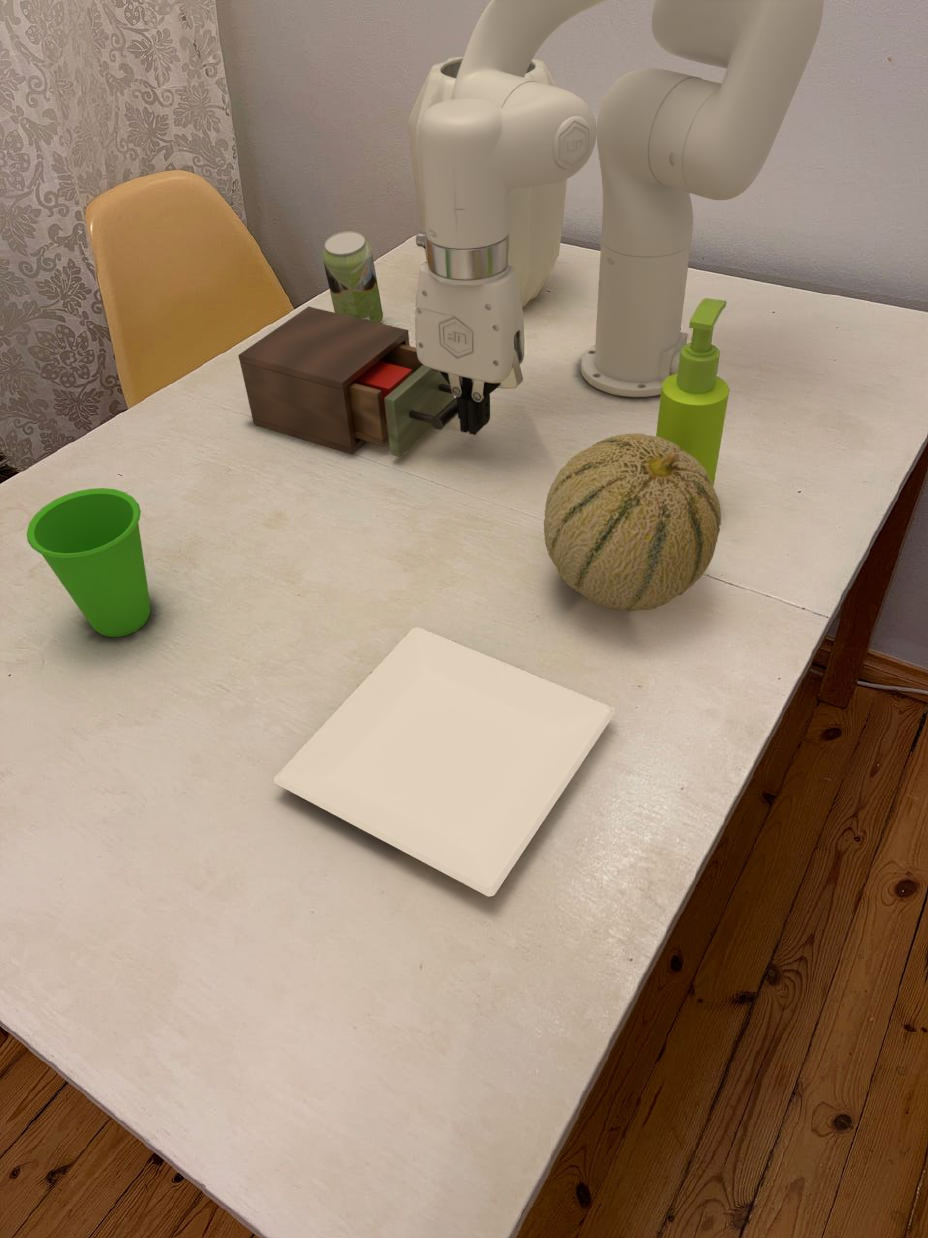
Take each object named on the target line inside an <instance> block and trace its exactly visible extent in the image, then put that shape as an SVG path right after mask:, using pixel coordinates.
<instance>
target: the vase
mask: <svg viewBox="0 0 928 1238" xmlns="http://www.w3.org/2000/svg"><path fill="white" fill-rule="evenodd" d="M463 57H464V55H463V56H453V57H449V58H448V59H447V60H446V61H443V62H439V63H435V64H433V65H432V66H431V68H430V69H429V71H428V73H427V76H426V79H425V80H424V82H423V85H422V87H421V89H420V90H419V93H418V95H417V97H416V101H415V103H414V105H413V107H412V109H411V112H410V114H409V117H408V118H407V122H408V136H409V146H410V147H409V148H410V156H411V164H412V165H411V166H412V171H413V179H414V180H413V181H414V188H415V194H416V201H417V202H416V203H417V209H418V216H419V223H420V229H421V232H426V226H425V212H424V198H423V183H422V168H421V153H420V138H419V127H420V121H421V117H422V115H423V114H424V112H425V111H426V110H427V109H428V108H429V107H431V106H432V105H435V104H437V103H440V102H443V101H447V100H451V96H452V92H453V88H454V84H455V80H456V77H457V74H458V71H459V68H460V66H461V63H462V60H463ZM524 78H527V79H531V80H534V81H537V82H540V83H543V84H547V85H550V86H554V87H558V85H557V82H556V81H555V79H554V76H553V74H552V73H551V71H550V68H549V66H548V65H547V63H546V62H545V61H543V60H540V59H536V58H533V59H532V61H531V63H530V65H529V67H528V69H527V71H526V74H525V76H524ZM567 182H568V179H566V180H563V181H561V182H558V183H554V184H549V185H541V186H531V187H523V188H515V189H512V190H511V191H510V192H509V265H510V266H513V267H514V268H515V271H516V275H517V279H518V284H519V289H520V295H521V301H522V308H524V307H525V306H527V304H528V303H529V301H532V300H535V299H536V298H537V297H538V295H539V294H540V292H541V290H542V288H543V287H544V285H545V283H546V281H547V279H548V277H549V276H550V273H551V271H552V269H553V268H554V266H555V264H556V263H557V260H558V258H559V255H560V251H561V250H560V249H561V242H562V232H563V224H564V217H565V206H566V205H565V203H566V193H567ZM424 253H425V254H424V255H426V249H424Z"/></svg>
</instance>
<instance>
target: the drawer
mask: <svg viewBox="0 0 928 1238" xmlns="http://www.w3.org/2000/svg"><path fill="white" fill-rule="evenodd" d="M379 361H381V362H385V363H388V364H392V365H396V366H400V367H404V368H408V369H412V375H411V376H410V377H408V378H407V379H406V380H405V381H404V382H403V383H401V384H400V385H399V386H398V387H397V388H396V389H394V390H393V391H392V392H391V393H390V394H389V395H387V396H386V397H385V398H384V402H385V411H386V419H387V424H385V419H384V411H383V402H382V393H381V390H377V389H374V388H370V387H366V386H363V385H359V384H355V382H354V381H353V382H352V383H351V384H350V385H348V386H347V388H348V395H349V402H350V409H351V416H352V423H353V430H354V437H355V438H358V439H361V440H364V441H367V442H369V443H372V444H374V445H378V446H382V447H384V446H385V445H386V444H388V446H389V454H390V456H392V457H395V458H402V457H403V456H404V454H406V453H407V452H408V451H409V450H410V449H411V448H412V447H413V446H415V444H417V442H418V441H419V440H420V439H422V438H423V437H424V436H425V435H426V434H427V433H428V432H430V430H431V429H432V428H433V429H435V430H437V431H441V430H443V429H444V428H445V427H446V426H447V425H448V424H449V423H451V422H452V420H453V419H454V418H455V417H456V416H458V411H457V397H456V396H454V395H453V394H452V392H451V387H450V384H449V383H448V382H447V381H446V380H445V378H444V377H443V376H442V375H441V373H438V372H436V371H434V370H432V369H430V368H428V367H426V366H425V365H423V364H422V363H421V362H420V361H419V359H418V357H417V352H416V346H411V345H410V346H407V345H403V344H399V345H398V346H397V347H395V348H394V349H393V350H392V351H390V352H389V353H388V354H387V355H385V356H384V357H383V358H382V359H380V360H379Z"/></svg>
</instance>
